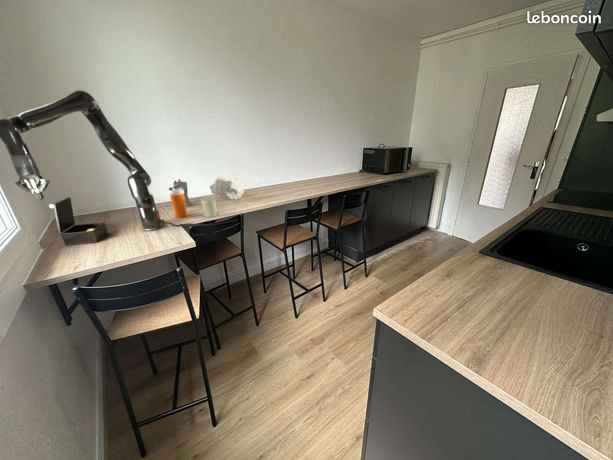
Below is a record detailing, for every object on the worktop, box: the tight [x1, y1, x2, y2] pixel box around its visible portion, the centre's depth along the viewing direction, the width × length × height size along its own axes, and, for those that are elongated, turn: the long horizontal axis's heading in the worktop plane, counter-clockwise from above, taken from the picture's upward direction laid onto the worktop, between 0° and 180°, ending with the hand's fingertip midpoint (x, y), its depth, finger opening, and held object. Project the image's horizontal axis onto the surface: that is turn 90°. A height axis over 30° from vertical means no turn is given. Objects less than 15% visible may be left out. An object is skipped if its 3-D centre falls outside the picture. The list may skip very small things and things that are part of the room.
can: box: [200, 196, 218, 218], centre depth 170 cm, size 9×9×12 cm
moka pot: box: [172, 179, 191, 208], centre depth 187 cm, size 10×15×20 cm, turn 58°
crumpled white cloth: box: [209, 175, 245, 201], centre depth 204 cm, size 18×18×25 cm
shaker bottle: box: [168, 186, 188, 219], centre depth 166 cm, size 9×9×20 cm
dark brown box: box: [60, 222, 109, 247], centre depth 136 cm, size 15×13×7 cm
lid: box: [49, 196, 76, 234], centre depth 130 cm, size 15×13×5 cm
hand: (40, 199), depth 125 cm, fingers closed
